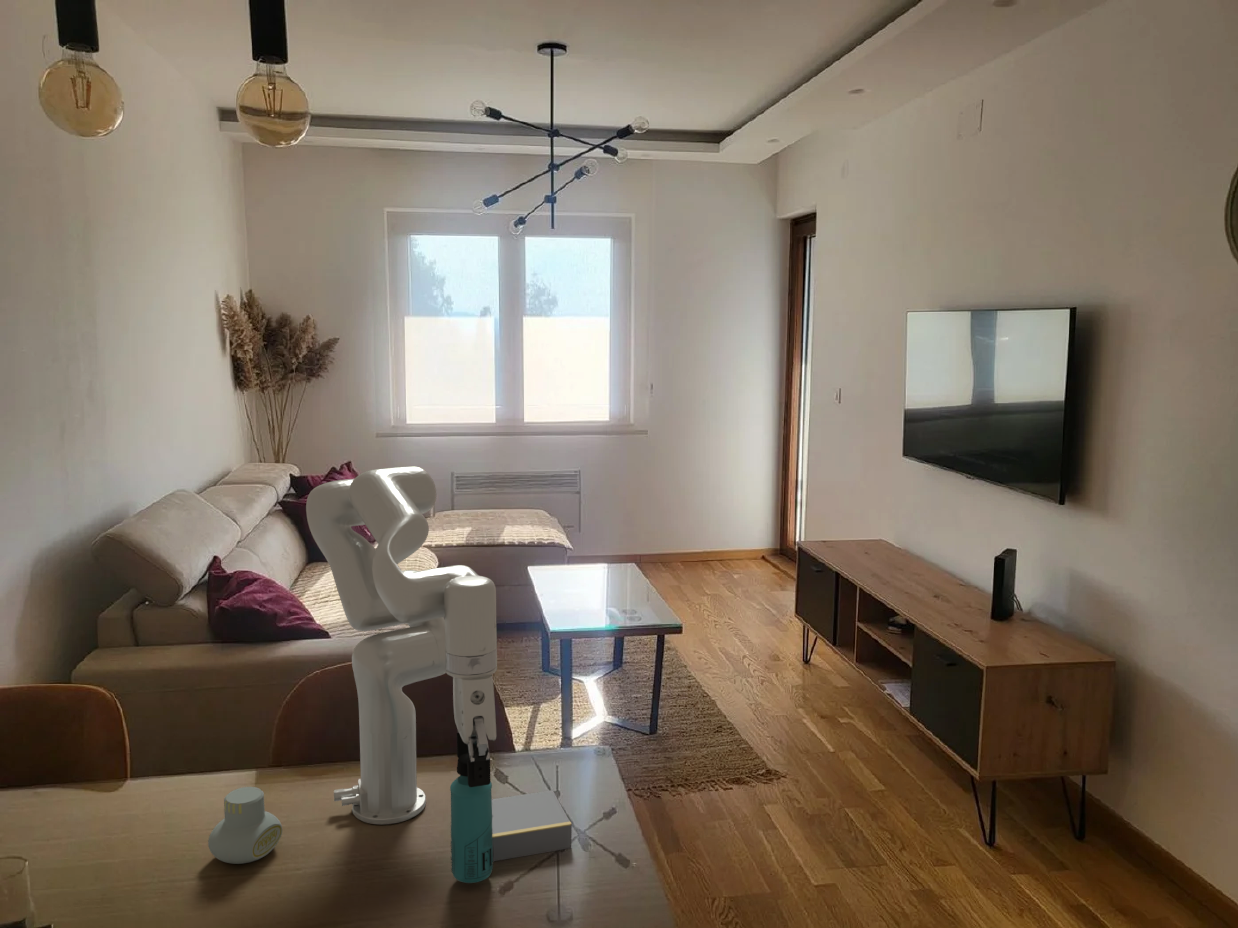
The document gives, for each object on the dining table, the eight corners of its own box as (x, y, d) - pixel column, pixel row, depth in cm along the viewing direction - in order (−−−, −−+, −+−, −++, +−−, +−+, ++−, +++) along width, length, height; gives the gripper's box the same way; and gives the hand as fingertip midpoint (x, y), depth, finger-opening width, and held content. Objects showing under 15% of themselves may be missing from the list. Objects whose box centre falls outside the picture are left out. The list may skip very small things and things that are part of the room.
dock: (486, 862, 145) (486, 837, 144) (473, 823, 156) (472, 800, 156) (571, 847, 150) (571, 823, 149) (552, 811, 161) (552, 788, 160)
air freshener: (243, 877, 140) (241, 816, 139) (200, 866, 143) (197, 806, 141) (290, 840, 150) (288, 783, 149) (249, 831, 153) (246, 774, 151)
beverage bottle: (485, 895, 137) (484, 769, 134) (443, 889, 138) (442, 764, 135) (499, 870, 143) (499, 749, 140) (459, 865, 144) (458, 745, 141)
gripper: (508, 677, 128) (510, 792, 130) (485, 640, 145) (487, 743, 147) (455, 683, 126) (457, 801, 128) (437, 645, 142) (439, 750, 144)
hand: (473, 770), depth 137 cm, fingers open, 9 cm apart
